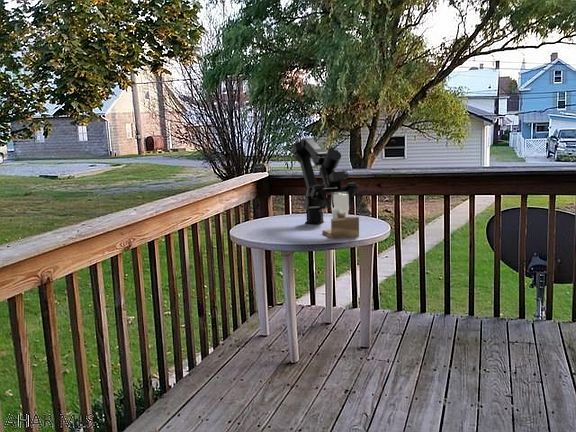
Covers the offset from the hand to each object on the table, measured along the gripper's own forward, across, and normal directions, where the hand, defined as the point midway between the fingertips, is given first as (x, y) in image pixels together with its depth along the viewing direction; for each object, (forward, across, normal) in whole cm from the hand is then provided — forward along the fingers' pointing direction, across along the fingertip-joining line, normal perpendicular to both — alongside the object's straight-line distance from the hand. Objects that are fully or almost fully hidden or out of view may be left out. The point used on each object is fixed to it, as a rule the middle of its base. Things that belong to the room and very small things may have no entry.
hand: (340, 207), depth 218 cm
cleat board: (+7, 0, +9) cm, 11 cm away
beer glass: (+6, 0, +8) cm, 10 cm away
